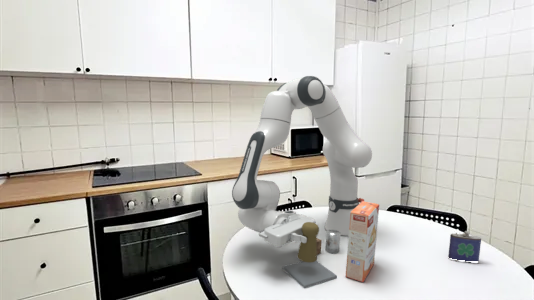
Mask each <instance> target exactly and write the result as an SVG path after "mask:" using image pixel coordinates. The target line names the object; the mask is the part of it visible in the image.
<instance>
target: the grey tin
mask: <svg viewBox="0 0 534 300" xmlns="http://www.w3.org/2000/svg"><path fill="white" fill-rule="evenodd" d="M340 243H341V235H340V232H339V231H337V230H332V229H331V230H326V231H325V247H324V248H325V252H326V253H328V254H333V255H337V254H339V253H340V245H341V244H340Z"/></svg>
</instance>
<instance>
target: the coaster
mask: <svg viewBox="0 0 534 300" xmlns="http://www.w3.org/2000/svg"><path fill="white" fill-rule="evenodd" d="M282 270H283V271H284V272H285V273H286V274H288V275H289V276H290V278H292V279H293V280H294V281H296V282H297V284H299V285H300V286H301V287H302V288H304V289H307V288H310V287H313V286H315V285H319V284H323V283H326V282H328V281H332V280H335V279H337V278H338V275H337V274H335V273H334V272H333V271H331V270H330V269H329V268H327V267H325V265H323V264H322V263H320V262H319V261H318V260H316V261H315V262H304V261H301V260H300V261H298V262H294V263H290V264H286V265H283V266H282Z"/></svg>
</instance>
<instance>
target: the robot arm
mask: <svg viewBox="0 0 534 300" xmlns="http://www.w3.org/2000/svg"><path fill="white" fill-rule="evenodd" d="M304 108H308V109H309V111H310V113H311V115H312V117H313V119H314V120H315V123H316V126H317V127H318V129H319V131H320V133H321V134H322V137H324V138H326V139H327V140H326V141H325V142H324V143H323V146H322V154H323V156H324V157H325V159H326V161H327V166H328V172H329V177H330V179H329V180H330V185H329V187H330V189H329V191H330V192H329V196H328V212H327V217H326V222H325V225H324V229H325V230H326V231H327V230H331V229H332V230H337V231H339V232H340V236H348V237H349V223H350V212H351V211H352V210H353V209H354V208H356V207H357V206H358V205H359V204H360V203H361V202H362V201H364V202H365V199H364V198H361V197H359V198H358V186H359V185H358V183H359V182H358V181H359V180H358V178H357V176H356V174H355V173H354V169H355V168H356V169H358V168H365V167H367V166H368V165H369V164H370V162H371V160H372V157H373V150H372V148H371V147H370V145H369V144H367V143H366V142H364V141H363V140H362V139H361V137H359V135H358V134H357V133H356V132H355V130H354V129H353V128H352V127H351V125H350V124H349V122H348V120H347V118H346V116H345V114H344V112H343V110H342V108H341V105H340V104H339V101H338V100H337V97H336V96H335V95H334V93H333V91H332V90H331V89H330V87H329V86H328V85H326V84H324V83H323V81H322V80H321V79H320V78H319V77H317V76H313V75H306V76H304V77H298V78H294V79H292V80H291V81H288V82H285V83H283V84H281V85H280V86H279V87H278V88H277V89H276V90H273V91H270V92H268V94H267V95H266V97H265V100H264V102H263V105H262V109H261V112H260V113H261V114H260V117H259V122H258V123H259V124H258V126H257V129H256V131H255V132H254V133H252V135H251V136H250V138H249V141H248V144H247V146H246V150H245V153H244V157H243V160H242V163H241V165H240V168H239V169H240V170H239V173H238V176H237V178H236V180H235V182H234V184H233V186H232V190H231V197H232V200H233V202H234V204H235V205H236V206H237V207H238V208H239V209H238V212H237V218H238V220H239V222H240V223H241V225H243V226H244V227H246V228H248V229H250V230H252V231H254V232H257V233H258V236H259V237H260V238H262V239H264V241H265V242H266V243H268V244H270V245H271V246H273V247H276V248H281V247H283V246H285V245H287V244H290V243H291V242H295V243H301V242H302V243H306V242H308V237H307V236H305V235H303V232H302V225H303V224H304V223H306V222H313V223H315V224H317V223H316V222H317V221H316V220H315V219H314V218H312V217H310V216H307V215H304V214H301V213H297V211H296V210H295V211H294V210H287V211H286V210H285V211H281V210H277V209H278V205H279V202H280V197H281V191H280V189H279V186H278V185H277V183H276V182H275V181H271V180H265V179H263V180H262V179H257V178H258V174H259V169H260V167H261V163H262V159H263V156H264V155H265V153H266V152H267V151H269V150H271V149H274V148H276V147H279V146H281V145H282V144H284V143H285V142H286V141H287V139H288V137H289V134H290V131H291V130H290V129H291V122H292V115H293V112H294V110H302V109H304ZM353 168H354V169H353ZM318 234H319V233H318ZM318 234H317V235H316V238H318V237H319V235H318Z"/></svg>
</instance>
